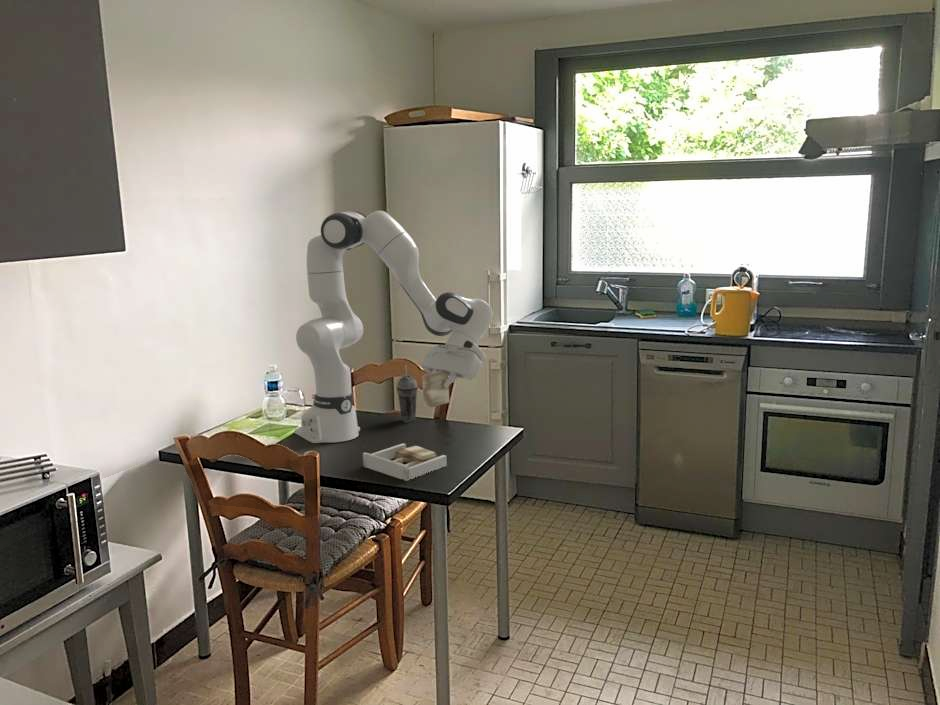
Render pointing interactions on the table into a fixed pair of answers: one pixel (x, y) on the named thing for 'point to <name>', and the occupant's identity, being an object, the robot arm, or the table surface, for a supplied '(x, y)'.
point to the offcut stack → (415, 454)
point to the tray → (400, 464)
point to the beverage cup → (407, 397)
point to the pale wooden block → (435, 389)
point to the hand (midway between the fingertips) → (438, 386)
